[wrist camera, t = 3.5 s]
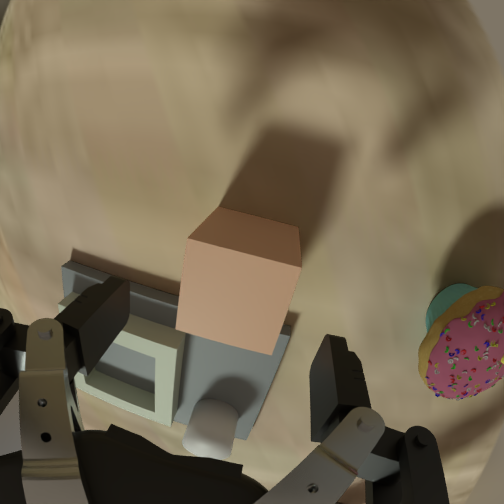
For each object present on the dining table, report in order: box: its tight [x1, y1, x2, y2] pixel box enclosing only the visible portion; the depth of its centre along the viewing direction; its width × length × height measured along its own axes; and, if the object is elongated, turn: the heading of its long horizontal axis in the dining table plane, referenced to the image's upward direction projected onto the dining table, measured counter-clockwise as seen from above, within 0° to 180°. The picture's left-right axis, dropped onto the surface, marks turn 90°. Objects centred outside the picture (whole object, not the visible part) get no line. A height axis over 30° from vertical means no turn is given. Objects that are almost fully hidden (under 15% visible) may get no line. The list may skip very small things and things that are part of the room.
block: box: [176, 207, 302, 355], centre depth 16 cm, size 5×5×6 cm
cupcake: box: [418, 283, 504, 400], centre depth 13 cm, size 9×8×12 cm
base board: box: [58, 261, 290, 460], centre depth 21 cm, size 18×14×5 cm
